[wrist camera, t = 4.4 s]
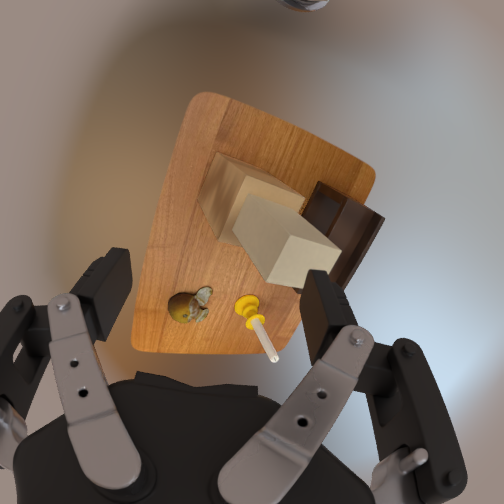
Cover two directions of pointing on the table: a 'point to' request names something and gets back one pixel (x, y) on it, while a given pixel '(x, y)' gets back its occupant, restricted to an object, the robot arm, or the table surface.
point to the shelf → (342, 229)
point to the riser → (239, 193)
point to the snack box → (282, 242)
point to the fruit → (189, 306)
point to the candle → (255, 322)
